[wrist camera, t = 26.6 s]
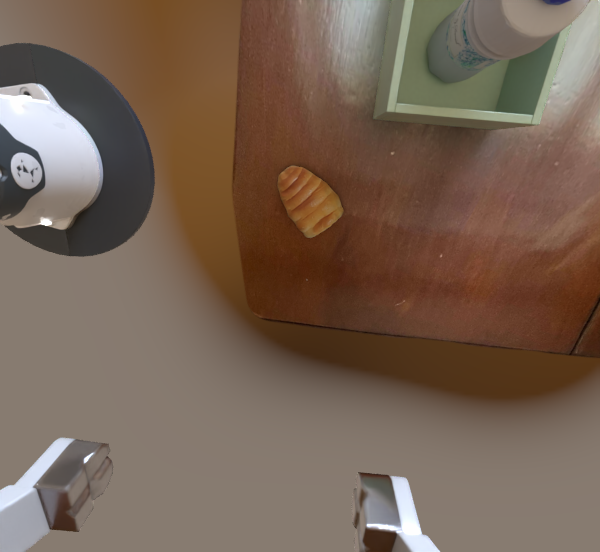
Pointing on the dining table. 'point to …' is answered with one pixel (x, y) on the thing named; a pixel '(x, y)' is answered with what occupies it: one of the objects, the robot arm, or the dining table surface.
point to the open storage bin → (465, 94)
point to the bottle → (495, 33)
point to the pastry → (308, 200)
